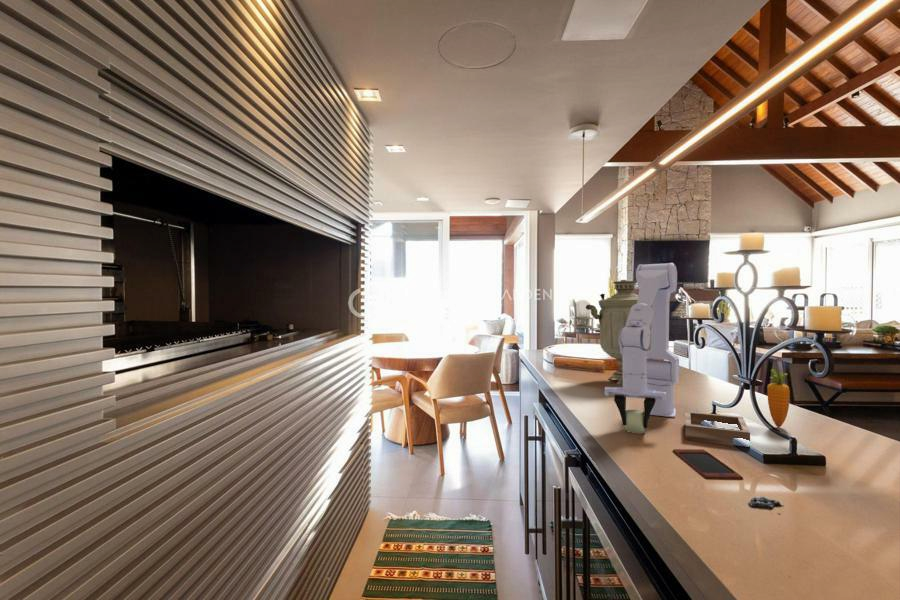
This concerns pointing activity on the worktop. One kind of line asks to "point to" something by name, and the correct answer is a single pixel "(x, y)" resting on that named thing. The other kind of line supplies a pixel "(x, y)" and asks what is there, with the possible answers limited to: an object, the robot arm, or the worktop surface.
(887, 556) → the worktop surface
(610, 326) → the samovar
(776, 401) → the carrot
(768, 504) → the blueberries
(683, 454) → the smartphone
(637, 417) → the green cylinder
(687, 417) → the walnut tray
